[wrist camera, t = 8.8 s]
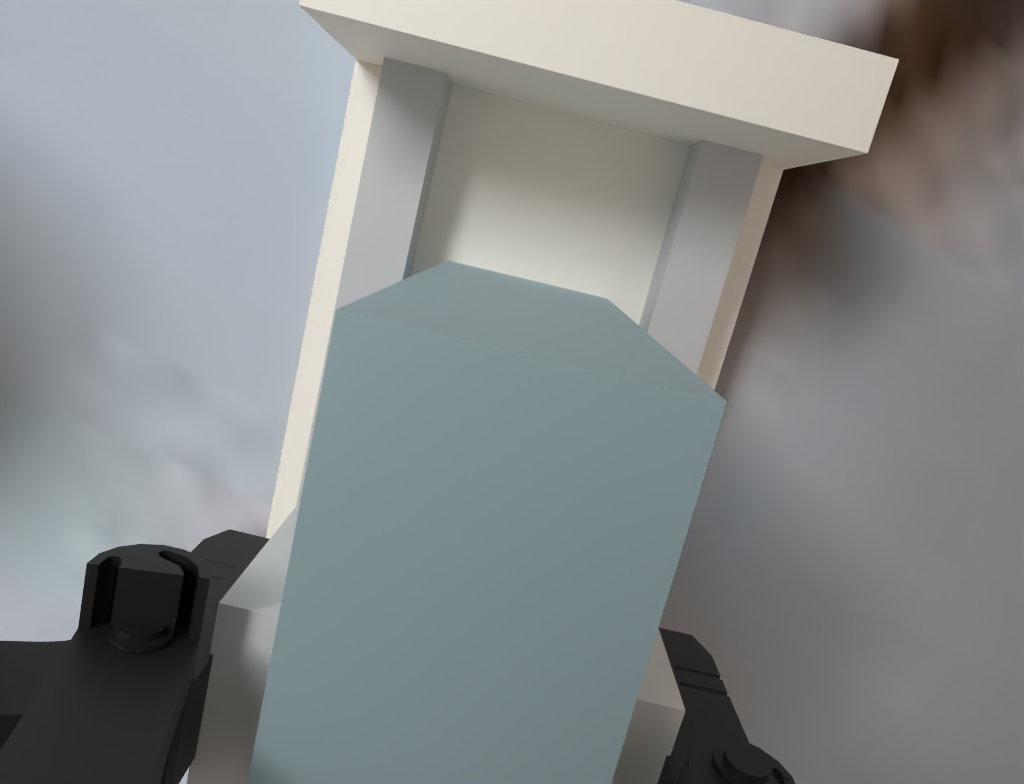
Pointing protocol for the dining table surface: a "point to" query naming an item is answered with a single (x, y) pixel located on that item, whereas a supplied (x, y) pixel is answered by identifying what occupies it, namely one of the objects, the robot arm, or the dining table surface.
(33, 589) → the dining table surface
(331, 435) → the door panel
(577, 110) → the track board
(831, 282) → the dining table surface
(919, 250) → the dining table surface
